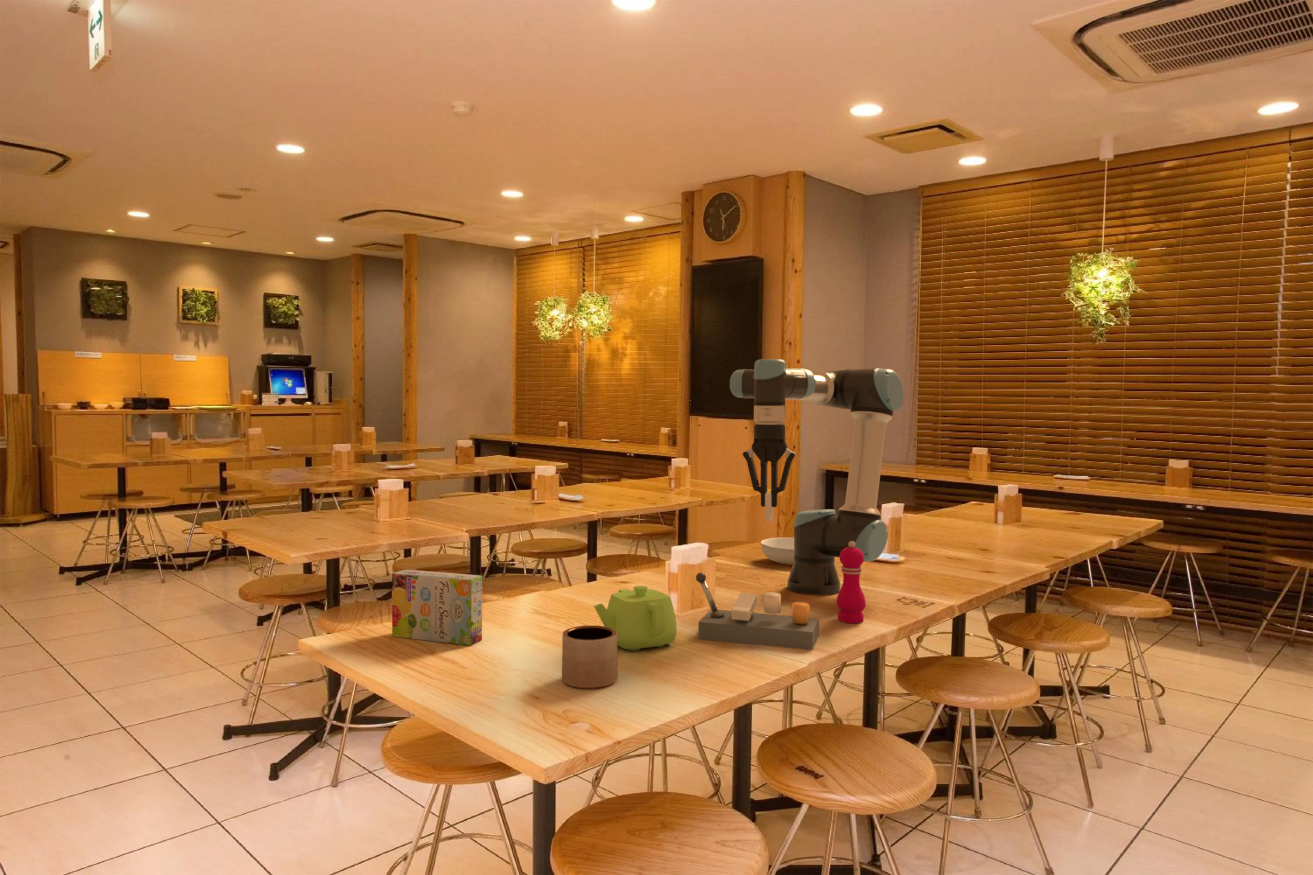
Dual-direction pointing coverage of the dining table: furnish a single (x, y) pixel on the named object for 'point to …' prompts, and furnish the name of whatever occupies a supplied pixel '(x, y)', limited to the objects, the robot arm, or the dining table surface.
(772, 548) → the serving bowl
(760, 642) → the console
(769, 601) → the button cream
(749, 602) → the rocker
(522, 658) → the dining table surface
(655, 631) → the teapot
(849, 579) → the pepper mill
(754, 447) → the robot arm
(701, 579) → the lever
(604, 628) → the planter
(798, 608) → the button orange
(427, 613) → the snack box
